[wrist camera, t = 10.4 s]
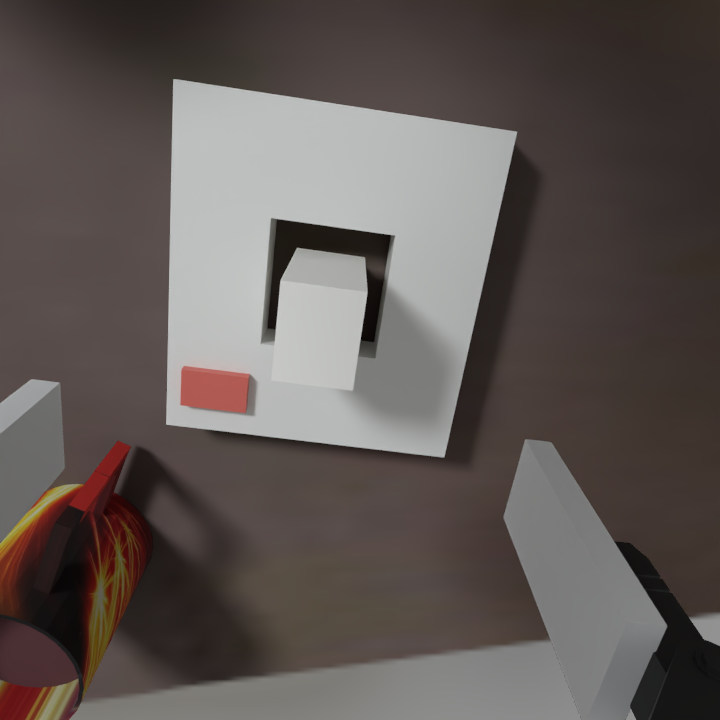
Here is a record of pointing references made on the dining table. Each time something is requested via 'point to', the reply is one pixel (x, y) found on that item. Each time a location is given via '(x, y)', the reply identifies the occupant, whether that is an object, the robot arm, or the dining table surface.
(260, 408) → the socket
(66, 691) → the mug
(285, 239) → the dining table surface
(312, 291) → the plug
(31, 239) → the dining table surface
